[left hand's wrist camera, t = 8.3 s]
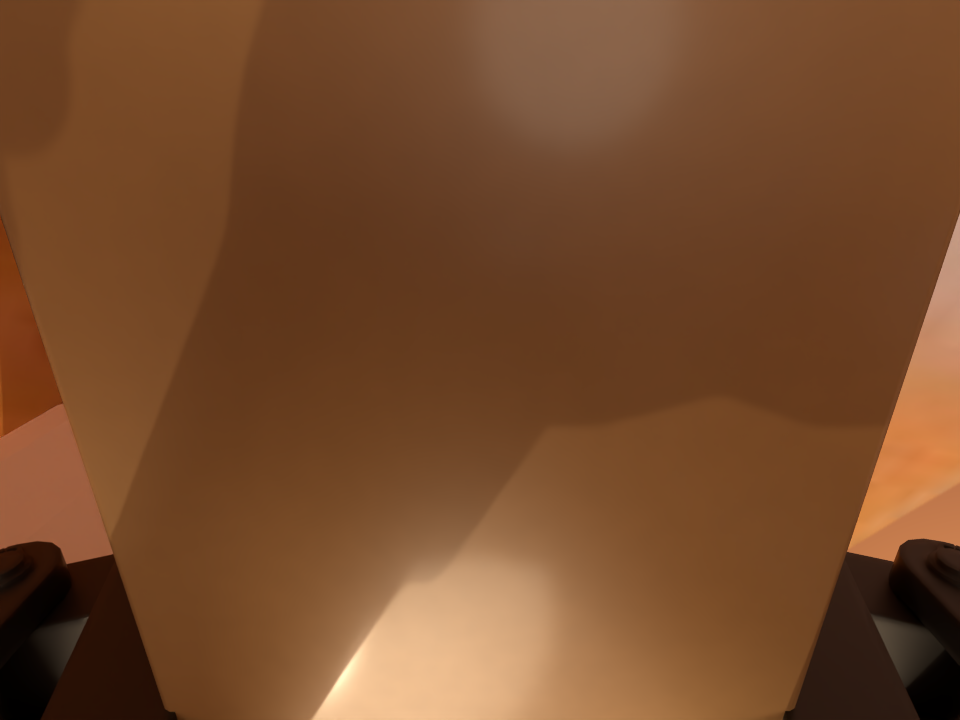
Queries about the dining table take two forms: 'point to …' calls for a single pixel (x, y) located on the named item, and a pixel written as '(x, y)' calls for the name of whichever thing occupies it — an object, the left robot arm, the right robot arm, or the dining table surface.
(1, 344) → the dining table surface
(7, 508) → the container
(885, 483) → the dining table surface
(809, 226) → the box
